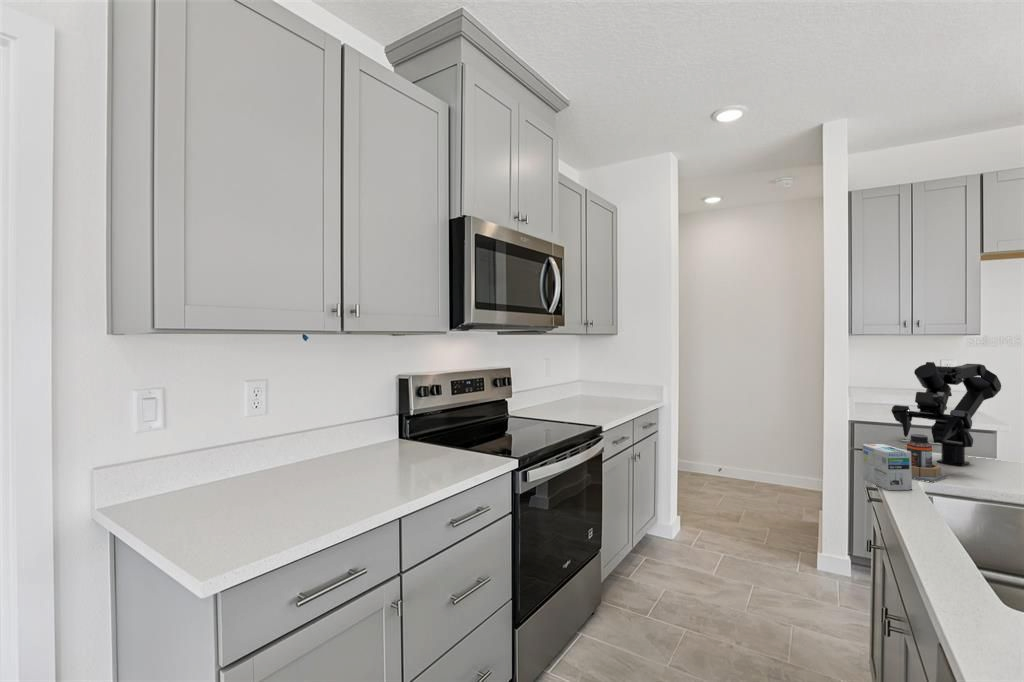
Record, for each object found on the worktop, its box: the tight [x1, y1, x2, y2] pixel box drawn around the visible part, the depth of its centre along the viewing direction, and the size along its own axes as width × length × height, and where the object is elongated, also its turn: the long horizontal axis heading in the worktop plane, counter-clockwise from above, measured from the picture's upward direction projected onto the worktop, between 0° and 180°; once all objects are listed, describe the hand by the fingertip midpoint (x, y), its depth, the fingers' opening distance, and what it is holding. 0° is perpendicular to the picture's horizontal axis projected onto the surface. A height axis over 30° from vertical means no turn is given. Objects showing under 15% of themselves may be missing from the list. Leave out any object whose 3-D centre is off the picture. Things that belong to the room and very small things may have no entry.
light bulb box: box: [862, 443, 913, 491], centre depth 143 cm, size 11×7×11 cm, turn 179°
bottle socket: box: [911, 462, 949, 483], centre depth 150 cm, size 10×10×4 cm
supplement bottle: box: [906, 433, 933, 468], centre depth 150 cm, size 6×6×11 cm
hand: (923, 438), depth 152 cm, fingers open, 9 cm apart
